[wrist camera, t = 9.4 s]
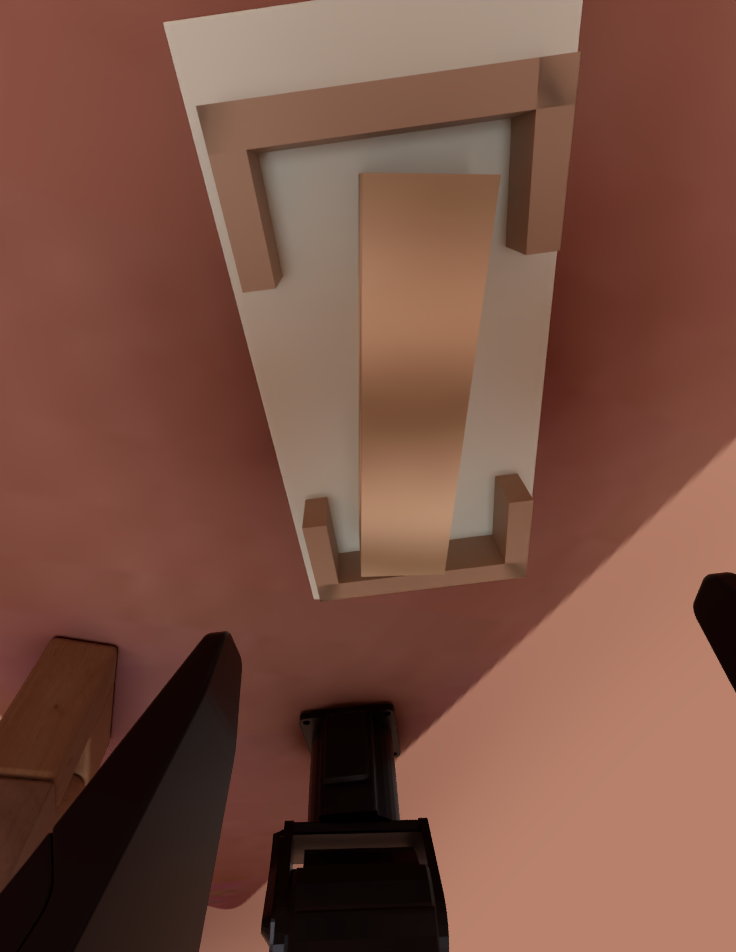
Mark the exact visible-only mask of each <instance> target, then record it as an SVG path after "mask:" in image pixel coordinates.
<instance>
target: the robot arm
mask: <svg viewBox="0 0 736 952" xmlns="http://www.w3.org/2000/svg"><path fill="white" fill-rule="evenodd" d="M693 609H694V613H695V616H696V619H697V620H698V622H699V624H700V626H701V628H702V630H703V632H704V634H705V635H706V637H707V639H708V641H709V643H710V645H711V647H712V649H713V651H714V653H715V654H716V656H717V658H718V660H719V662H720V664H721V665H722V668H723V670H724V671H725V673H726V675H727V677H728V679H729V681H730V683H731V685H732V686H733V688H734V690H735V692H736V574H733V573H728V572H725V573H716V574H709V575H707V576H706V577H705V578H704V579H703V581H702V584H701V586H700V589H699V591H698V593H697V596H696V598H695V601H694V604H693ZM241 674H242V662H241V657H240V654H239V652H238V650H237V647H236V645H235V643H234V641H233V638H232V636H231V634H230V633H229V632H227V631H223V632H214V633H209V634H207V635H206V636H204V637H203V639H202V640H201V641H200V642H199V644H198V645H197V646H196V647H195V649H194V650H193V651H192V652H191V654H190V655H189V656H188V658H187V659H186V660H185V661H184V663H183V664H182V665H181V666H180V668H179V669H178V670H177V671H176V673H175V674H174V675H173V676H172V678H171V679H170V680H169V681H168V683H167V684H166V685H165V687H164V688H163V689H162V690H161V692H160V693H159V694H158V695H157V697H156V698H155V699H154V700H153V702H152V703H151V704H150V705H149V707H148V708H147V709H146V711H145V712H144V713H143V714H142V716H141V717H140V718H139V719H138V721H137V722H136V723H135V724H134V726H133V727H132V728H131V729H130V731H129V732H128V733H127V734H126V736H125V737H124V738H123V740H122V741H121V742H120V743H119V745H118V746H117V747H116V748H115V750H114V751H113V752H112V753H111V755H110V756H109V757H108V758H107V760H106V761H105V762H104V763H103V765H102V766H101V767H100V769H99V770H98V771H97V772H96V774H95V775H94V776H93V777H92V779H91V780H90V781H89V782H88V784H87V785H86V786H85V787H84V789H83V790H82V791H81V792H80V794H79V795H78V796H77V798H76V799H75V800H74V801H73V803H72V804H71V805H70V806H69V808H68V809H67V810H66V811H65V813H64V814H63V815H62V816H61V818H60V819H59V820H58V822H57V823H56V824H55V825H54V827H53V829H52V832H50V833H48V834H47V835H46V836H45V838H44V839H43V840H42V841H41V843H40V844H39V845H38V846H37V848H36V849H35V850H34V851H33V853H32V854H31V855H30V857H29V858H28V859H27V860H26V862H25V863H24V864H23V865H22V866H21V868H20V869H19V870H18V871H17V873H16V874H15V875H14V876H13V877H12V879H11V880H10V881H9V882H8V884H7V885H6V886H5V887H4V888H3V890H2V891H1V892H0V952H199V948H200V942H201V937H202V931H203V925H204V920H205V915H206V910H207V904H208V899H209V893H210V888H211V882H212V877H213V872H214V866H215V861H216V855H217V850H218V844H219V839H220V833H221V828H222V823H223V817H224V812H225V806H226V801H227V795H228V790H229V784H230V779H231V774H232V768H233V762H234V756H235V748H236V738H237V725H238V713H239V700H240V687H241ZM299 724H300V727H301V730H302V732H303V735H304V738H305V741H306V743H307V746H308V749H309V751H310V754H311V765H310V785H309V805H308V822H294V821H285V825H284V830H282V831H280V832H277V833H275V834H273V843H272V853H271V862H270V870H269V877H268V884H267V891H266V897H265V904H264V910H263V917H262V925H261V934H262V936H263V937H264V939H265V941H266V942H267V944H268V945H269V952H449V934H448V921H447V911H446V904H445V898H444V893H443V888H442V884H441V879H440V875H439V870H438V865H437V861H436V856H435V851H434V847H433V843H432V838H431V833H430V828H429V824H428V819H427V818H418V820H400V815H399V806H398V805H399V804H398V794H397V783H396V773H395V762H394V757H398V756H399V755H400V745H399V738H398V732H397V725H396V718H395V712H394V707H393V705H391V704H381V705H372V706H363V707H354V708H346V709H337V710H328V711H319V712H311V713H304V714H301V715H300V720H299ZM293 864H304V866H303V868H297V869H293Z"/></svg>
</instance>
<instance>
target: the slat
mask: <svg viewBox="0 0 736 952" xmlns="http://www.w3.org/2000/svg"><path fill="white" fill-rule="evenodd" d="M500 177H501V175H500V174H423V173H360V174H358V277H359V545H360V564H361V577H374V576H408V575H441V574H445V568H446V560H447V553H448V546H449V539H450V532H451V525H452V518H453V511H454V504H455V497H456V489H457V482H458V475H459V468H460V461H461V454H462V447H463V440H464V433H465V426H466V418H467V411H468V404H469V397H470V390H471V383H472V376H473V369H474V362H475V355H476V348H477V340H478V333H479V326H480V319H481V312H482V305H483V298H484V291H485V284H486V277H487V269H488V262H489V255H490V248H491V241H492V234H493V227H494V220H495V213H496V206H497V198H498V191H499V184H500Z"/></svg>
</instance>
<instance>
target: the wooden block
mask: <svg viewBox="0 0 736 952" xmlns="http://www.w3.org/2000/svg"><path fill="white" fill-rule="evenodd" d="M116 658H117V649H116V648H115V647H113V646H109V645H103V644H96V643H90V642H84V641H77V640H71V639H64V638H54V639H52V640H51V641H50V643H49V644H48V646H47V647H46V649H45V650H44V652H43V654H42V655H41V657H40V658H39V660H38V662H37V663H36V665H35V666H34V668H33V670H32V671H31V673H30V674H29V676H28V678H27V679H26V681H25V682H24V684H23V685H22V687H21V689H20V690H19V692H18V693H17V695H16V697H15V698H14V700H13V701H12V703H11V705H10V706H9V708H8V709H7V711H6V713H5V714H4V716H3V717H2V719H1V720H0V892H1V891H2V890H3V888H4V887H5V886H6V885H7V884H8V882H9V881H10V880H11V879H12V877H13V876H14V875H15V874H16V873H17V871H18V870H19V869H20V868H21V866H22V865H23V864H24V863H25V862H26V860H27V859H28V858H29V857H30V855H31V854H32V853H33V851H34V850H35V849H36V848H37V846H38V845H39V844H40V843H41V841H42V840H43V839H44V838H45V836H46V835H47V834H48V833H50V832H52V829H53V827H54V825H55V824H56V823H57V822H58V820H59V819H60V818H61V816H62V815H63V814H64V813H65V811H66V810H67V809H68V808H69V806H70V805H71V804H72V803H73V801H74V800H75V799H76V798H77V796H78V795H79V794H80V792H81V791H82V790H83V789H84V787H85V786H86V785H87V784H88V782H89V781H90V780H91V779H92V777H93V776H94V775H95V774H96V772H97V771H98V769H99V767H100V764H101V762H102V759H103V757H104V754H105V752H106V749H107V747H108V745H109V742H110V729H111V717H112V705H113V693H114V685H113V684H114V682H115V670H116Z"/></svg>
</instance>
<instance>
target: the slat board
mask: <svg viewBox="0 0 736 952" xmlns="http://www.w3.org/2000/svg"><path fill="white" fill-rule="evenodd" d="M582 3H583V0H314V1H307V2H300V3H293V4H287V5H280V6H273V7H266V8H259V9H252V10H245V11H239V12H232V13H225V14H218V15H211V16H204V17H197V18H190V19H184V20H177V21H170V22H163V24H164V28H165V32H166V36H167V39H168V43H169V47H170V51H171V55H172V58H173V62H174V66H175V70H176V74H177V78H178V81H179V85H180V89H181V93H182V97H183V101H184V104H185V108H186V112H187V116H188V120H189V123H190V127H191V131H192V135H193V139H194V143H195V146H196V150H197V154H198V158H199V162H200V165H201V169H202V173H203V177H204V181H205V185H206V188H207V192H208V196H209V200H210V204H211V207H212V211H213V215H214V219H215V223H216V227H217V230H218V234H219V238H220V242H221V246H222V249H223V253H224V257H225V261H226V265H227V269H228V272H229V276H230V280H231V284H232V288H233V291H234V295H235V299H236V303H237V307H238V311H239V314H240V318H241V322H242V326H243V330H244V333H245V337H246V341H247V345H248V349H249V353H250V356H251V360H252V364H253V368H254V372H255V375H256V379H257V383H258V387H259V391H260V395H261V398H262V402H263V406H264V410H265V414H266V417H267V421H268V425H269V429H270V433H271V437H272V440H273V444H274V448H275V452H276V456H277V459H278V463H279V467H280V471H281V475H282V479H283V482H284V486H285V490H286V494H287V498H288V501H289V505H290V509H291V513H292V517H293V521H294V524H295V528H296V532H297V536H298V540H299V543H300V547H301V551H302V555H303V559H304V563H305V566H306V570H307V574H308V578H309V582H310V585H311V589H312V593H313V597H314V599H320V601H328V600H337V599H345V598H354V597H362V596H370V595H379V594H387V593H396V592H404V591H412V590H421V589H429V588H438V587H446V586H454V585H463V584H471V583H480V582H488V581H496V580H505V579H513V578H522V577H526V569H527V559H528V550H529V540H530V531H531V521H532V512H533V502H534V500H533V498H532V492H533V482H534V473H535V463H536V453H537V443H538V433H539V424H540V414H541V404H542V394H543V384H544V375H545V365H546V355H547V345H548V336H549V326H550V316H551V306H552V296H553V287H554V277H555V267H556V257H557V251H560V246H561V236H562V227H563V217H564V208H565V198H566V189H567V179H568V170H569V160H570V151H571V141H572V132H573V122H574V113H575V103H576V94H577V84H578V75H579V65H580V56H581V51H580V52H578V42H579V32H580V22H581V13H582ZM360 173H423V174H500V175H501V177H500V184H499V191H498V198H497V206H496V213H495V220H494V227H493V234H492V241H491V248H490V255H489V262H488V269H487V277H486V284H485V291H484V298H483V305H482V312H481V319H480V326H479V333H478V340H477V348H476V355H475V362H474V369H473V376H472V383H471V390H470V397H469V404H468V411H467V418H466V426H465V433H464V440H463V447H462V454H461V461H460V468H459V475H458V482H457V489H456V497H455V504H454V511H453V518H452V525H451V532H450V539H449V546H448V553H447V560H446V568H445V574H441V575H408V576H374V577H361V564H360V545H359V277H358V174H360Z"/></svg>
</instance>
